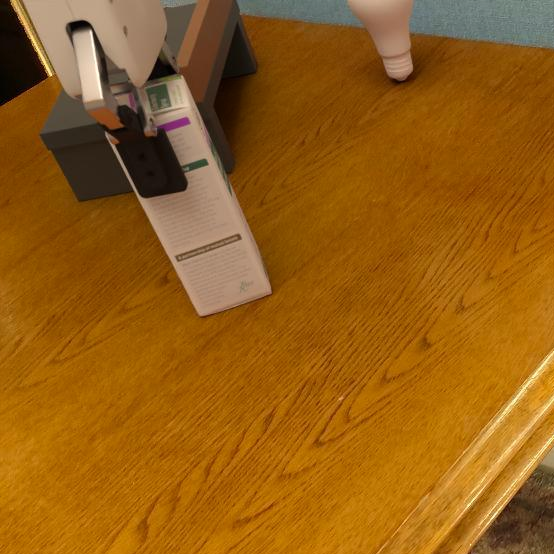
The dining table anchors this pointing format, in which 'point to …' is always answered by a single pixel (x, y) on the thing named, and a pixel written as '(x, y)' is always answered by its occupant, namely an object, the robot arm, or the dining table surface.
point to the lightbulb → (388, 32)
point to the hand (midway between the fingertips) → (173, 162)
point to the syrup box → (200, 209)
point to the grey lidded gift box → (192, 66)
